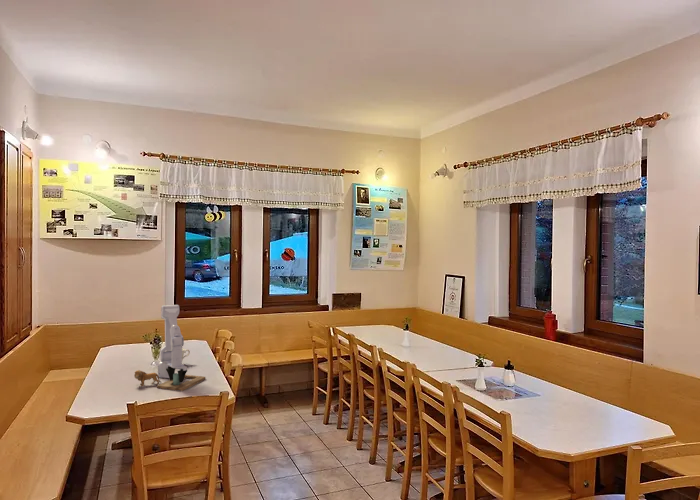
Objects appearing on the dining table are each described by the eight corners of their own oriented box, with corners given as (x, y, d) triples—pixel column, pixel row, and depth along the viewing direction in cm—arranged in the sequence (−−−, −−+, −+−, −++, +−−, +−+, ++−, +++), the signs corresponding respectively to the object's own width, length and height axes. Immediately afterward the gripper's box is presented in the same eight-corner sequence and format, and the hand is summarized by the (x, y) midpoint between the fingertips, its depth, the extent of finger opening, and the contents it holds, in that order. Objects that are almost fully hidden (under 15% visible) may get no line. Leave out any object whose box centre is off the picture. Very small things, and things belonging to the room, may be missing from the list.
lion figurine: (134, 387, 275) (135, 371, 275) (133, 385, 279) (133, 369, 279) (162, 384, 282) (162, 368, 282) (160, 381, 287) (160, 366, 287)
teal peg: (171, 386, 278) (171, 374, 278) (176, 384, 282) (176, 372, 282) (176, 387, 277) (176, 375, 276) (181, 385, 280) (182, 373, 280)
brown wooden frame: (157, 388, 275) (157, 385, 275) (181, 376, 298) (182, 374, 298) (182, 391, 271) (182, 388, 271) (205, 379, 294) (205, 376, 294)
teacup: (189, 366, 323) (189, 351, 322) (165, 367, 318) (165, 352, 318) (189, 361, 334) (189, 347, 334) (166, 362, 330) (166, 348, 329)
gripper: (191, 357, 279) (191, 381, 279) (173, 354, 286) (173, 377, 286) (181, 360, 273) (181, 384, 273) (163, 356, 280) (163, 380, 280)
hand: (176, 381), depth 279 cm, fingers open, 7 cm apart
